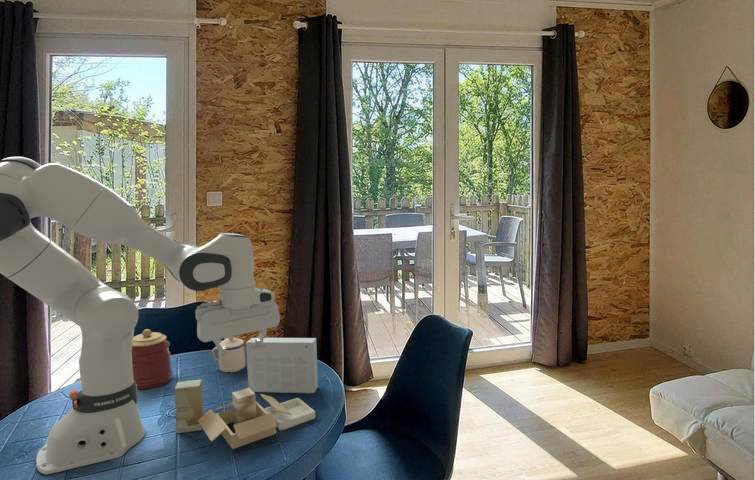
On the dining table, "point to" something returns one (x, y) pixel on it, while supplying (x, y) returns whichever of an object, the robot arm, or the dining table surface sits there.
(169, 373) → the canister
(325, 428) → the dining table surface
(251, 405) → the chunky box
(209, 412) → the carton
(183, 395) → the skincare box
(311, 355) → the skincare box
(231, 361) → the teacup with lid
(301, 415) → the tray
